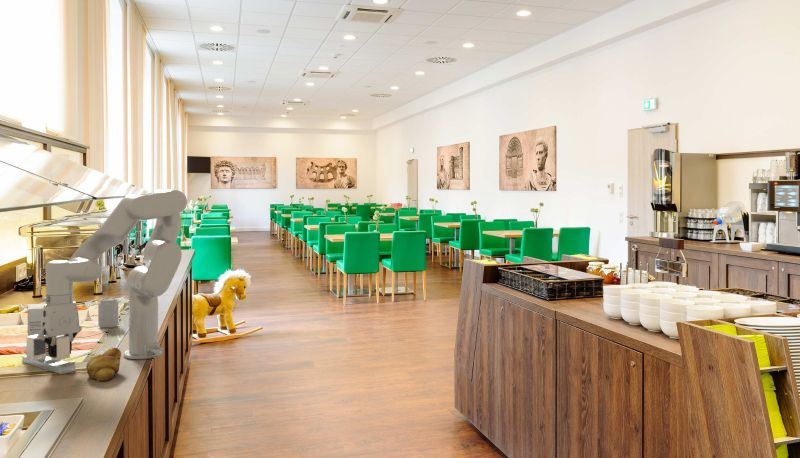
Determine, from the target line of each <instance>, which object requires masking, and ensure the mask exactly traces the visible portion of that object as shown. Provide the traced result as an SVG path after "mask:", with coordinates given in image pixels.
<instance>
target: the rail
mask: <svg viewBox="0 0 800 458" xmlns="http://www.w3.org/2000/svg"><path fill="white" fill-rule="evenodd" d="M37 336H38V334H36V335H31V336H28V335H26V355H22V363H24V364H28V365H30V366H34V367H37V368H40V369H43V370H46V371H49V372H53V373H56V374H59V375H64V374H68V373H71V372H75V371H76V361H74V360H73V361H64V360H58V361H57V360H54V359H50V356H49V355H48V356H47V351H46V349H47V348H46V343H45V342H44V341H42V340H40V339H37ZM44 336H45V335H44ZM45 337H46V336H45Z"/></svg>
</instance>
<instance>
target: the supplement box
mask: <svg viewBox="0 0 800 458" xmlns="http://www.w3.org/2000/svg"><path fill="white" fill-rule="evenodd" d="M45 304H46V303H34V304H28V306H27V336H31V335H36V334H39V332H40V331H41V321H42V312H43V308H44V305H45ZM45 336H46V338H47V336H48V335H45ZM47 347H48V344H46V349H48V348H47Z"/></svg>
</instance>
